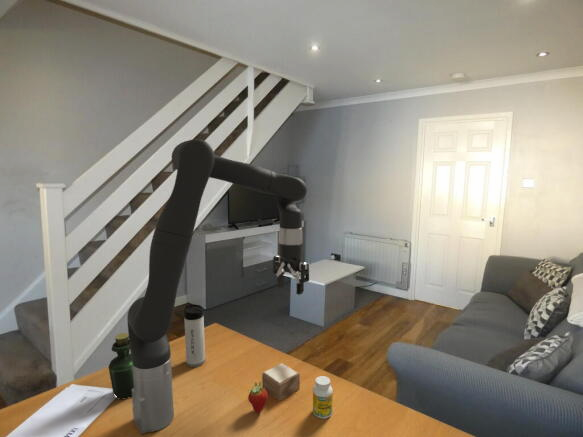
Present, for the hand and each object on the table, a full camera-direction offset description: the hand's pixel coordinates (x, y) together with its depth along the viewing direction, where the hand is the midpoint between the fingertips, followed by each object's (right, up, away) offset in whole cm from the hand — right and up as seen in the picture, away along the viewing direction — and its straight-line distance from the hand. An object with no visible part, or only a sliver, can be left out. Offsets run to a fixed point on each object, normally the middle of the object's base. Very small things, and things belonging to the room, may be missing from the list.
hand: (290, 290), depth 111 cm
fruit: (-9, -30, -16) cm, 35 cm away
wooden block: (-3, -28, -6) cm, 29 cm away
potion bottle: (-49, -29, -8) cm, 57 cm away
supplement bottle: (+9, -30, -16) cm, 36 cm away
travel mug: (-33, -27, +8) cm, 43 cm away
